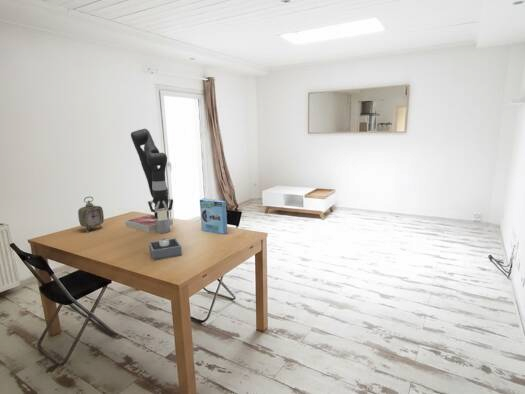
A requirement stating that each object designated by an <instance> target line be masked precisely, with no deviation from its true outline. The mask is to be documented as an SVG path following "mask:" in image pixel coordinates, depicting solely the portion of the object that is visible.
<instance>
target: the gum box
mask: <svg viewBox="0 0 525 394" xmlns="http://www.w3.org/2000/svg"><path fill="white" fill-rule="evenodd" d="M226 202H227V201H226V200H221V199H212V198H205V197H204V198H201V199H199V206H200V207H199V208H200V222H201V223H200V225H201V231H203V232H209V233H215V234H221V235H224V234H226V233H228V218H227V216H228V215H227V203H226Z"/></svg>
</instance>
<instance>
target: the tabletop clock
mask: <svg viewBox="0 0 525 394" xmlns="http://www.w3.org/2000/svg"><path fill="white" fill-rule="evenodd" d="M89 198H91V199H92V200H87V201H86V199H89ZM93 200H94V198H93V197H92V196H86V197H85V198H84V199H83V202H84V203H86V204H85V206H82V207H80V208H79V209H78V210H77V211H78V212H77V213H78V214H77V215H78V221H79V225H80V226H81V227H85V228H86V233H89V230H90V229H91V230H92V229H93V228H95V227H97V226H99V228H100V229H102V228H103V226H101V225H102V224H104V220H105V218H104V210H103V208H102V206H99V205H95V204H94V203H93Z"/></svg>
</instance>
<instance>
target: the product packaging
mask: <svg viewBox="0 0 525 394" xmlns="http://www.w3.org/2000/svg"><path fill="white" fill-rule="evenodd" d="M124 222H125V223H124V224H125V227H127V228H131V229H134V228H135V229H136V230H138V231H143V232H147V233H151V232H154V231H157V229H156V218H155V214H151V213H149V214H146V215H142V216H138V217H134V218H130V219H127V220H124ZM169 222H170V226H173V225H174V221H173V218H170V217H169Z"/></svg>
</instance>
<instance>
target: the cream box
mask: <svg viewBox="0 0 525 394" xmlns="http://www.w3.org/2000/svg"><path fill="white" fill-rule="evenodd" d="M157 216H158V219H157V220H158V221H162V220H167V210H166V209H165V208H162V209H158V210H157Z"/></svg>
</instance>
